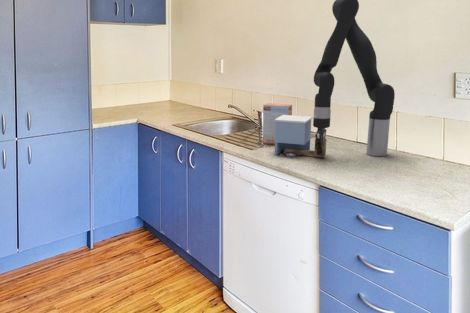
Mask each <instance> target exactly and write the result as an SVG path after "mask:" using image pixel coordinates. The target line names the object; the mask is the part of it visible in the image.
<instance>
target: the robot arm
mask: <svg viewBox="0 0 470 313" xmlns="http://www.w3.org/2000/svg"><path fill="white" fill-rule="evenodd" d="M359 8H360V4H359V0H334V1H333V4H332V8H331V10H332V14H333V16H334V18H335V20H336V21H337V22H336V24H335V26H334V29H333V31H332V33H331V35H330V37H329V39H328V41H327V43H326V45H325V46H324V47H325V48H324V50H323V54H322V58H321V60H320V62H319V64H318V66H317V68H316V70H315V72H314V76H313V83H314V85H315V86H316V87H319V88H318V92H317V93H316V94H315V96H314V108H313V116H312V122H313V123H312V126H313V127H314V128H317V130H316V131H315V139H316V146H317V154H318V155H321V154H322V142H323V141H324V139H326V140H327V129H328V128H329V127H331V113H332V111H331V110H332V109H331V106H332V105H331V103H332V102H331V101H332V99H331V98H332V95H333V92H334V89H335V88H334V87H335V76H334V74H333V73H331V72H332V70H333V69H334V68H335V67H337V64H338V62H339V59H340V56H341V52H342V50H343V46H344V43H345V41H346V42H347V44H348V48H349V50H350V53H351V55H352V57H353V60H354V61H355V65H356V66H357V69H358V71H359V73H360V76H361V77H362V80H363V81H364V82H363V83H364V86H365V88H366V92H367V96H368V98H369V99H370V101H371V102H373V103H374V104H373V106H374V107H373V110H371V111H369V117H368V128H367V129H368V130H367V142H366V155H368V156H372V157H387V156H388V146H389V137H390V136H389V134H390V124H391V117H392V116H391V115H392V114H393V112H394V104H395V94H396V93H395V90H394V87H393V86H392V85H390V84H388V83H384V82H383V81H382V79H381V77H380V75H379V73H378V68H377V67H378V66H377V54H376V51H375V48H374V47H373V44H372V41H371V40H370V38H369V37H368V35H367V34H366V33H365V32H364V31H363V30H362V29H361V27H360V26H359V24H358V23H357V19H356V16H357V14H358V12H359ZM318 142H320V143H318Z"/></svg>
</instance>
